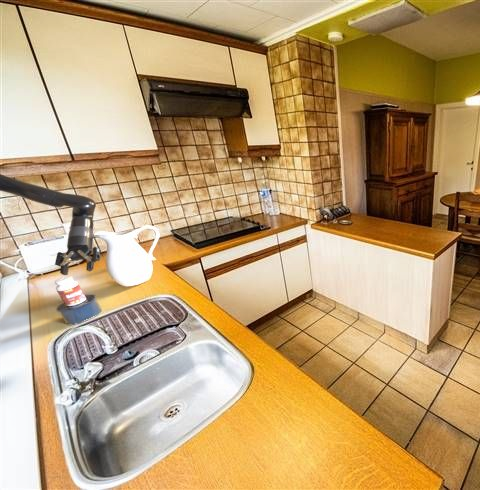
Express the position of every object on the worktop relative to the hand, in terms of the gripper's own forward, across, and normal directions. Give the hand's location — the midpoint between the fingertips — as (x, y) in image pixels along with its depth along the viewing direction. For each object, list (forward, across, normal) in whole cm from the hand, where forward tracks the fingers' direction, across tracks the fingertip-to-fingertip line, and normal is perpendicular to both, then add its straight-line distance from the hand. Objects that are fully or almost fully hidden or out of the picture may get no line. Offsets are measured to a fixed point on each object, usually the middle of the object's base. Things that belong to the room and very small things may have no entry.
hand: (76, 272), depth 113 cm
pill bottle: (+13, 0, +2) cm, 13 cm away
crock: (+18, 0, +6) cm, 19 cm away
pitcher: (-1, +13, +24) cm, 28 cm away
